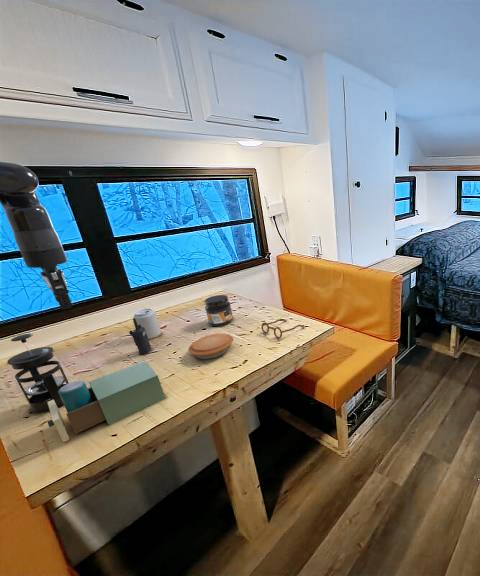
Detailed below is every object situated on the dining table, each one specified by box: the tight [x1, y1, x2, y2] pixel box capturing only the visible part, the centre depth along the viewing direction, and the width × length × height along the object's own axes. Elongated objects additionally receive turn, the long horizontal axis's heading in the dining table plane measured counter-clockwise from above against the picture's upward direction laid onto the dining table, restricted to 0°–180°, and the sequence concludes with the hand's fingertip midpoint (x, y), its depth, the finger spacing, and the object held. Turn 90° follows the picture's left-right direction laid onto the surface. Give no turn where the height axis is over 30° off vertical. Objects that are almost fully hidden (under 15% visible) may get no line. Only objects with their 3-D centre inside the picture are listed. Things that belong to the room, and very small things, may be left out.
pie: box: [187, 333, 234, 360], centre depth 118 cm, size 16×16×5 cm
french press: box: [6, 333, 69, 414], centre depth 89 cm, size 12×9×23 cm
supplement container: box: [204, 294, 234, 327], centre depth 141 cm, size 10×10×12 cm
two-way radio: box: [128, 317, 152, 355], centre depth 117 cm, size 6×4×15 cm
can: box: [132, 307, 162, 340], centre depth 130 cm, size 8×8×12 cm
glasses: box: [261, 318, 305, 339], centre depth 133 cm, size 13×13×5 cm
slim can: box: [58, 380, 93, 413], centre depth 83 cm, size 5×5×10 cm
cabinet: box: [88, 360, 166, 426], centre depth 91 cm, size 14×13×9 cm
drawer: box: [47, 386, 106, 443], centre depth 84 cm, size 14×11×7 cm
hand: (64, 304), depth 84 cm, fingers open, 8 cm apart
